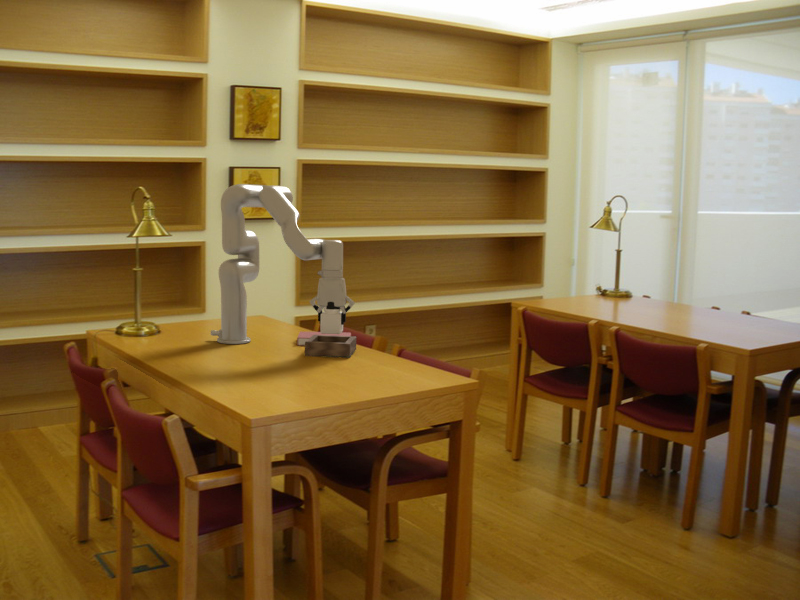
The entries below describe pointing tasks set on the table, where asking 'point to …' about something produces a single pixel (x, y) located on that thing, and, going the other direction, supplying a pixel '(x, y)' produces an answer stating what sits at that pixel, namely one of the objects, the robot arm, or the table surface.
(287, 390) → the table surface
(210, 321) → the table surface
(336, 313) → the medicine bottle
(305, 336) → the pink flat slab
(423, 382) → the table surface
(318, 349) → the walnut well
